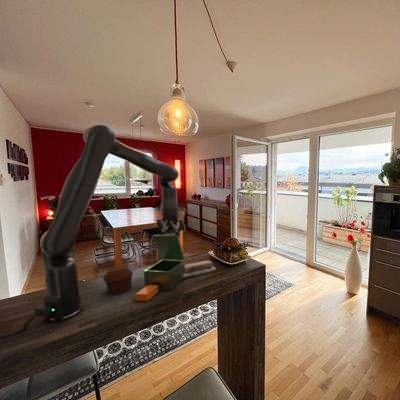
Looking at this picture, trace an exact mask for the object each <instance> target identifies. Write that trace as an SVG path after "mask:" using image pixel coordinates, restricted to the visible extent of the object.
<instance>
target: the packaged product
mask: <svg viewBox="0 0 400 400" xmlns="http://www.w3.org/2000/svg"><path fill="white" fill-rule="evenodd" d="M216 271H217V268H216V267H215V266H214V265H213V262H212V261H211V260H203V261H197V262H192V263H185V273H184V275H183V279H185V278H190V277H193V276H194V277H195V276H199V275H203V274H207V273H212V272H216Z"/></svg>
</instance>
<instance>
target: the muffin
mask: <svg viewBox="0 0 400 400" xmlns="http://www.w3.org/2000/svg"><path fill="white" fill-rule="evenodd" d="M133 275H134V272H133V271H132V270H131V269H130V268H127V267H124V266H119V267H114V268H112V269H109V271H107V272H106V273H105V275H104V276H103V279H102V280H103V281H104V282H105V285H106V288H107V291H108V295H109V294H110V295H117V294H122V293H125V292H128V291H129V290H130V289H131V288H132V278H133Z"/></svg>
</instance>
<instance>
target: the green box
mask: <svg viewBox="0 0 400 400" xmlns="http://www.w3.org/2000/svg"><path fill="white" fill-rule="evenodd" d="M185 262H186V261H185V260H168V259H160V260H159V261H157V262H156V263H154V264H152V265H151V266H149V267H148V268H146V269H145V270H143V277H144V279H143V280H144V287H146V286H147V285H158V291H172V289H174V288H175V287H176V286H177V285H179V283H180V282H181V281H182V280H184V278H183V275H184V273H185V264H186V263H185Z"/></svg>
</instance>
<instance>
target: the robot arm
mask: <svg viewBox="0 0 400 400" xmlns="http://www.w3.org/2000/svg"><path fill="white" fill-rule="evenodd" d="M82 133H83V134H82V139H83V141H84V143H85V145H84V148H83V150H82V154H81V156H80V158H79V159H78V160H77V162H76V163H75V164H74V166H73V167H72V169H71V170H70V172H69V173H68V175H67V177H66V179H65V182H64V184H63V187H62V189H61V192H60V194H59V199H58V204H57V208H56V209H57V210H56V214H55V216H54V219H53V220H52V223H51V224H50V227H49V228H48V230H46V231H45V232H44V233H43V234H42V236H41V237H40V243H39V245H40V250H41V258H42V269H43V270H42V271H43V278H44V288H45V294H44V295H43V297H42V299H43V304H42V303H41V304H40V305H38V306H34V309H33V310H34V315H32V316H31V317H30V318H28V319H27V320H26V321H25V323H24V324H23V327H21V328H20V329H18V330H16V331H12V332H9V333H4V334H0V340H1V339H4V338H8V337H11V336H14V335H18V334H20V333H22V332H24V331H25V330H27V329H28V327H29V324H30V323H31V322H32V321H33V320H34V319H36V318H37V317H41V318H42V317H43V318H45V321H46V322H58V323H59V322H62V321H65V320H67V319H70V318H72V317H75V316H76V315H77V314H79V313H80V312H81V311H82V305H81V303H82V299H81V296H80V285H79V275H78V266H77V257H76V251H75V250H76V248H75V245H76V240H77V235H78V232H79V228H80V224H81V221H82V219H83V216H84V215H85V213H86V211H87V209H88V208H89V205H90V202H91V200H92V198H93V196H94V194H95V191H96V188H97V186H98V183H99V180H100V176H101V174H102V171H103V167H104V164H105V162H106V160H107V158H108V156H109V154H110V155H112V156H114V157H117V158H119V159H121V160H123V161H126V162H127V163H130V164H132V165H133V166H135V167H137V168H139V169H141V170H143V171H145V172H147V173H149V174H153V175H157V178H158V183H159V187H160V189H161V216H162V218H158V219H156V224H157V230H158V231H160V232H161V233H162V235H164V234H168V228H169V227H171V228H173V230H174V234H175V235H178V238H179V239H180V237H181V235H180V232H182V231H184V225H185V219H184V218H179V203H178V202H179V201H178V195H177V193H178V192H177V191H178V190H177V187H176V186H175V185H174V184H173V182H174V181H176V180H177V179H178V178H179V172H178V169H177V168H176V167H174V166H172V165H170V164H168V163H165V162H162V161H160V160H158V159H156V158H155V157H153V156H151V155H149V154H147V153H145V152H143V151H141V150H138V149H135V148H133V147H131V146H128V145H127V144H124V143H122V142H120V141H119V140H117V139H116V134H115V132H114V131H113V129H112V128H111V127H109V126H107V125H105V124H94V125H92V126H89V127H87V128H86V129H85V130H84V131H83V132H82Z"/></svg>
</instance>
